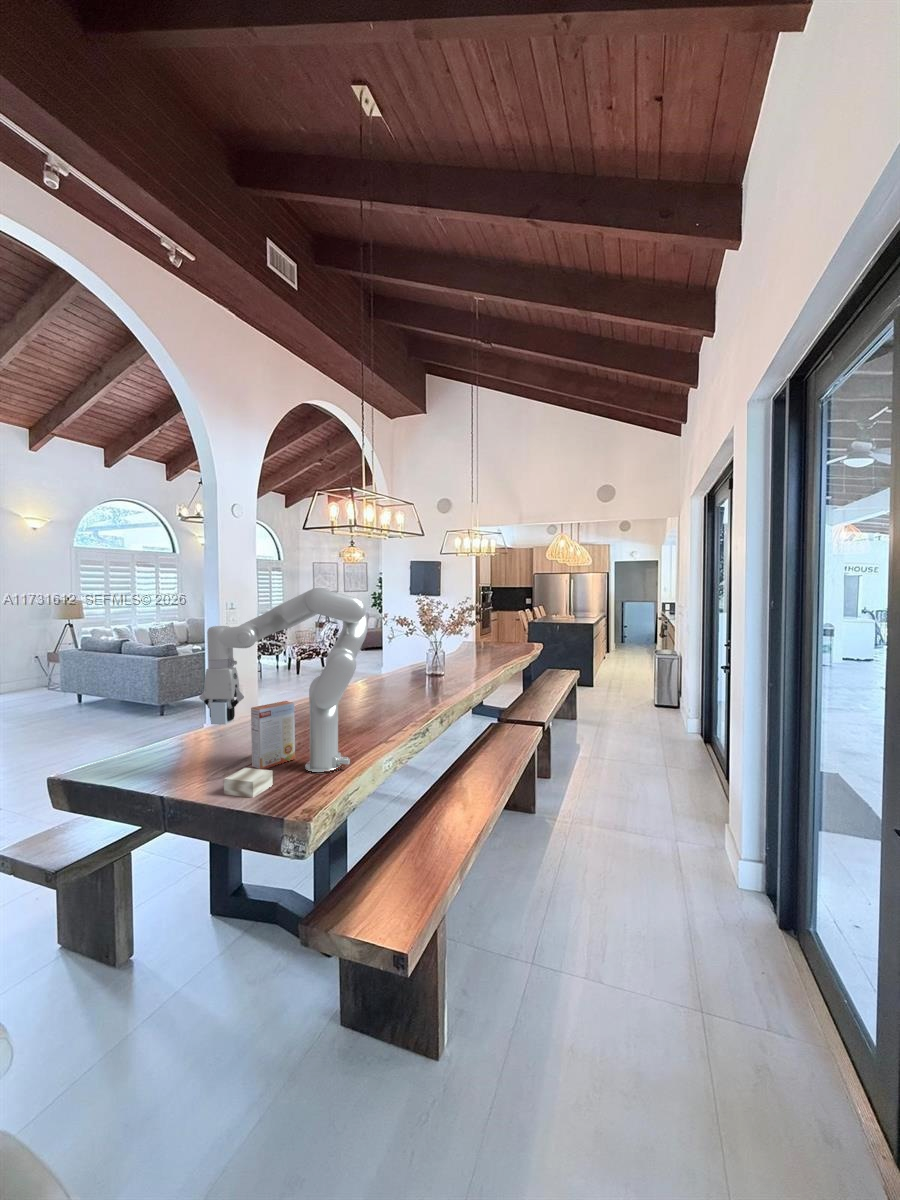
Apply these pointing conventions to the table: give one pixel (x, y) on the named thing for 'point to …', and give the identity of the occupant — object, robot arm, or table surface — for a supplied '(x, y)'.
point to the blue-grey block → (219, 712)
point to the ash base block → (248, 782)
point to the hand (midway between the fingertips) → (222, 719)
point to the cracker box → (272, 734)
